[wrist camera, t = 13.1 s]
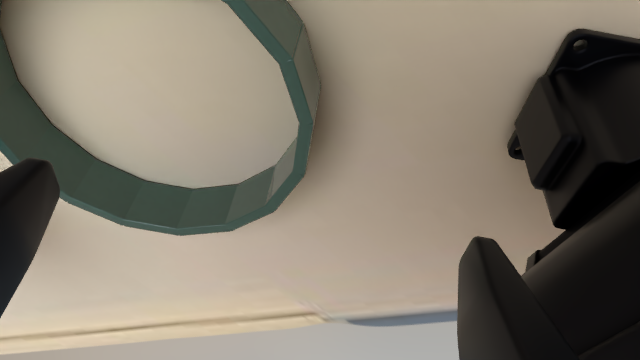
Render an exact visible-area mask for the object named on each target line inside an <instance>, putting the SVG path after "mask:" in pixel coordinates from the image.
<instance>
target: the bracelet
mask: <svg viewBox="0 0 640 360" xmlns="http://www.w3.org/2000/svg"><path fill="white" fill-rule="evenodd" d="M222 1H223V2H225V3H227V4H228V5H229V6H230V8H231V9H232V10H233V11H234V12H235V13H236V15H237V16H238V17H239V18H240V19H241V20H242V22H243V23H244V24H245V25H246V26H247V27H248V29H249V30H250V31H251V32H252V33H253V34H254V36H255V37H256V38H257V39H258V40H259V41H260V43H261V44H262V45H263V46H264V47H265V48H266V49H267V51H268V52H269V53H270V54H271V55H272V56H273V58H274V59H275V60H276V61H277V62H278V63H279V66H280V69H281V71H282V74H283V77H284V80H285V83H286V86H287V89H288V92H289V95H290V98H291V100H292V103H293V106H294V109H295V112H296V115H297V118H298V121H299V128H298V135H297V137H296V139H295V140H294V141H293V143H292V144H291V145H290V147H289V148H288V149H287V151H286V152H285V153H284V155H283V156H282V157H281V159H280V160H279V161H278V163H277V164H276V165H275V166H273V167H271V168H269V169H267V170H265V171H263V172H261V173H259V174H257V175H255V176H253V177H252V178H250V179H248V180H246V181H244V182H242V183H240V184H236V185H228V186H219V187H210V188H201V189H188V188H182V187H176V186H171V185H165V184H160V183H154V182H148V181H144V180H142V179H139V178H137V177H135V176H133V175H130V174H128V173H126V172H124V171H122V170H119V169H117V168H115V167H113V166H110V165H108V164H106V163H104V162H102V161H99V160H97V159H95V158H94V157H93V156H91V155H90V154H89V153H88V152H86V151H85V150H84V149H82V148H81V147H80V146H79V145H77V144H76V143H75V142H73V141H72V140H71V139H69V138H68V137H67V136H66V135H64V134H63V133H62V132H60V131H59V130H58V129H57V128H55V127H54V126H53V125H52V124H51V123H50V122H49V120H48V119H47V118H46V117H45V115H44V114H43V113H42V111H41V110H40V109H39V107H38V106H37V105H36V103H35V102H34V101H33V100H32V98H31V97H30V96H29V94H28V93H27V92H26V90H25V89H24V88H23V86H22V85H21V84H20V83H19V81H18V80H17V77H16V74H15V71H14V68H13V65H12V62H11V59H10V56H9V54H8V51H7V48H6V45H5V42H4V39H3V36H2V33H1V30H0V151H1V152H2V153H3V154H4V155H5V157H6V158H7V159H8V160H9V161H10V162H11V163H12V164H13V165H15V164H17V163H19V162H21V161H22V160H24V159H27V158H37V159H43V160H48V161H49V162H50V163H51V164H52V165H53V168H54V171H55V174H56V177H57V180H58V183H59V186H60V196H59V197H60V198H61V199H63V200H64V201H65V202H67V201H68V203H69V204H72V205H74V206H76V207H79V208H81V209H84V210H86V211H89V212H91V213H93V214H96V215H98V216H101V217H103V218H105V219H108V220H110V221H113V222H115V223H117V224H120V225H124V226H126V227H132V228H138V229H143V230H149V231H155V232H160V233H166V234H172V235H180V236H184V235H195V234H207V233H218V232H230V231H233V230H235V229H237V228H240V227H242V226H244V225H246V224H248V223H251V222H253V221H255V220H257V219H260V218H262V217H264V216H266V215H268V214H271V213H273V212H274V211H276V209H277V208H278V207H279V206H280V205H281V203H282V202H283V201H284V200H285V199H286V197H287V196H288V195H289V194H290V193H291V191H292V190H293V189H294V188H295V187H296V185H297V184H298V183H299V182H300V181H301V179H302V178H303V177H304V175H305V173H306V167H307V162H308V157H309V151H310V146H311V141H312V135H313V130H314V124H315V118H316V112H317V107H318V101H319V95H320V89H321V82H320V78H319V75H318V71H317V68H316V64H315V61H314V57H313V54H312V50H311V47H310V43H309V40H308V37H307V33H306V30H305V26H304V23H302V20H301V19H300V17H299V16H298V15H297V14H296V12H295V11H294V10H293V9H292V7H291V6H290V5H289V3H288V2H287V1H286V0H222ZM1 6H2V0H0V15H1Z"/></svg>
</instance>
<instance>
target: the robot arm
mask: <svg viewBox="0 0 640 360" xmlns="http://www.w3.org/2000/svg"><path fill="white" fill-rule="evenodd" d="M579 40H584V42H583V43H582V45H580V46H574V44H575V43H576V42H577V41H579ZM514 125H515V131H514V133H513V135H512V137H511V139H510V140H509V142H508V145H507V149H508V153H509V155H510V156H511V157H512V158H515V159H520V160H525V163H526V166H527V170H528V173H529V177H530V180H531V183H532V185H533V186H534V188H535V189H539V190H543V193H544V196H545V199H546V203H547V206H548V209H549V212H550V216H551V219H552V222H553V225H554V226H555V227H556V228H560V229H565V230H566V231H564V232H563V233H562V234H561V235H560V236H558V237H557V238H556V239H555V240H553V241H552V242H551V243H550V244H549V245H547V246H546V247H545V248H544V249H542V250H537V251H536V252H534V253H533V254H532V255H531V256H530V257H528V260H527V266H526V272H525V273H524V274H523V275H522V276H520V274H519V273H518V272H517V270H516V269H515V267H514V266H513V265H512V263H511V262H510V260H509V259H508V258H507V256H506V255H505V253H504V252H503V251H502V249H501V248H500V246H499V245H498V244H497V242H496V241H495V240H493V239H490V238H484V237H479V236H476V237H474V238H473V239H472V240H471V242H470V244H469V245H468V247H467V249H466V251H465V252H464V254H463V256H462V257H461V260H460V263H459V276H458V317H457V335H458V349H459V359H460V360H640V39H635V38H629V37H624V36H619V35H613V34H608V33H603V32H598V31H592V30H587V29H577V30H574V31H572V32H571V33H569V34H568V35H567V37H566V38H565V40H564V41H563V43H562V45H561V47H560V49H559V51H558V52H557V54H556V56H555V58H554V60H553V62H552V63H551V65H550V67H549V69H548V71H547V73H546V74H545V75H543V76H542V77H540V78H539V79H538V80H537V82H536V84H535V86H534V88H533V90H532V91H531V93H530V95H529V97H528V99H527V101H526V103H525V105H524V106H523V108H522V110H521V112H520V114H519V116H518V118H517V119H516V121H515V124H514ZM517 147H521V149H516V148H517ZM59 196H60V186H59V183H58V180H57V177H56V174H55V171H54V168H53V165H52V164H51V163H50V162H49V161H48V160H43V159H37V158H27V159H24V160H22V161H21V162H19V163H17V164H15V165H13V166H11V167H9V168H7V169H6V170H4V171H2V172H0V318H1V316H2V314H3V312H4V310H5V309H6V307H7V305H8V303H9V302H10V300H11V298H12V296H13V295H14V293H15V291H16V289H17V287H18V286H19V284H20V282H21V280H22V279H23V277H24V275H25V273H26V272H27V270H28V268H29V266H30V264H31V262H32V260H33V258H34V256H35V254H36V252H37V249H38V247H39V245H40V242H41V240H42V237H43V235H44V233H45V230H46V228H47V226H48V223H49V221H50V218H51V216H52V214H53V211H54V209H55V206H56V204H57V202H58V199H59Z"/></svg>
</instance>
